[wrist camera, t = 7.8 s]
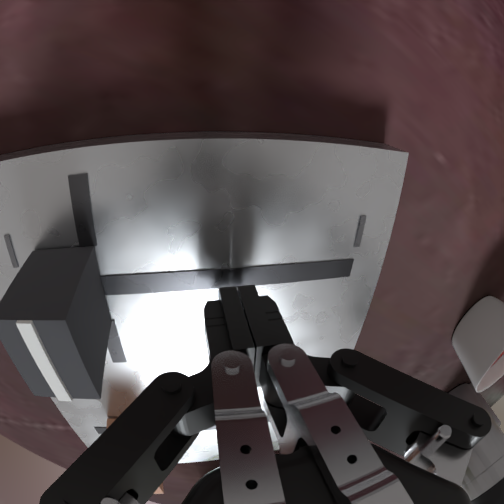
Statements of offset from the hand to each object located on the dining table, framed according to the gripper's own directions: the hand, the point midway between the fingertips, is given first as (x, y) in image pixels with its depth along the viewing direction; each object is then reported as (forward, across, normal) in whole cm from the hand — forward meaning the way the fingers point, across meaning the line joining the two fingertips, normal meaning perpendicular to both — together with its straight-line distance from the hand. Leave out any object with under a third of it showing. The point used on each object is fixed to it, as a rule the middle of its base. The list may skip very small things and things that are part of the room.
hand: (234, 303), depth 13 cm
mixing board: (+3, +2, +6) cm, 7 cm away
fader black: (+1, +7, -1) cm, 7 cm away
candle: (+4, -26, +10) cm, 28 cm away
